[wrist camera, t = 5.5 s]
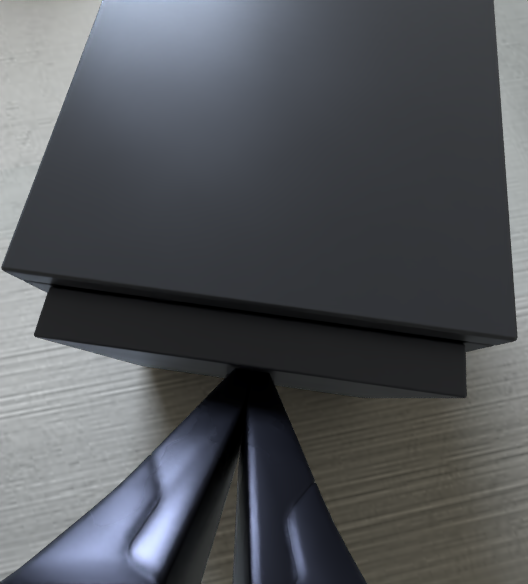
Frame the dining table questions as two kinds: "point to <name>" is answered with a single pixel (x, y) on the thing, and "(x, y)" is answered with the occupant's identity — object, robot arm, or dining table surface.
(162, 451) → the robot arm
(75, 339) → the fryer drawer
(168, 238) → the dark grey box
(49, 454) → the dining table surface
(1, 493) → the dining table surface
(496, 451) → the dining table surface
